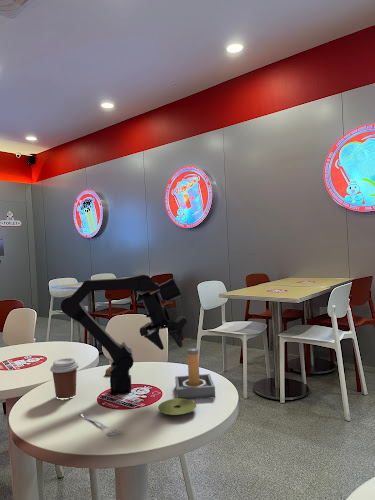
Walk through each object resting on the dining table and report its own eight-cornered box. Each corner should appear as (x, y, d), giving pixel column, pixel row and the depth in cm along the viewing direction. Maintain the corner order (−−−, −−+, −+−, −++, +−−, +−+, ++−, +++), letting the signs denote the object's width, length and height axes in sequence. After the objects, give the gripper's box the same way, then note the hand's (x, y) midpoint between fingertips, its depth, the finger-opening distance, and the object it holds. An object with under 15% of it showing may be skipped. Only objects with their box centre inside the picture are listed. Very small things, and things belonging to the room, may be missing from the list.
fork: (80, 410, 117) (79, 404, 117) (125, 436, 100) (125, 430, 100) (70, 414, 115) (70, 408, 115) (115, 441, 98) (114, 434, 98)
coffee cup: (53, 404, 122) (51, 367, 122) (50, 394, 130) (48, 359, 130) (82, 398, 126) (80, 362, 126) (77, 389, 134) (76, 355, 134)
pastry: (111, 378, 145) (111, 368, 145) (101, 374, 149) (101, 365, 149) (131, 371, 151) (130, 361, 151) (121, 368, 156) (120, 359, 156)
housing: (177, 400, 120) (177, 389, 120) (175, 386, 132) (175, 376, 132) (215, 397, 121) (214, 386, 121) (209, 383, 133) (209, 373, 133)
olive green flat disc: (154, 407, 116) (154, 401, 116) (190, 401, 119) (190, 395, 119) (162, 424, 105) (162, 417, 105) (201, 417, 108) (201, 410, 108)
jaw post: (197, 391, 124) (195, 351, 124) (187, 390, 126) (185, 350, 126) (201, 387, 128) (199, 348, 127) (192, 386, 129) (190, 348, 129)
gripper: (187, 294, 133) (204, 334, 134) (151, 302, 145) (167, 339, 146) (167, 307, 125) (186, 350, 126) (131, 315, 136) (148, 354, 138)
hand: (171, 348), depth 134 cm, fingers open, 9 cm apart
